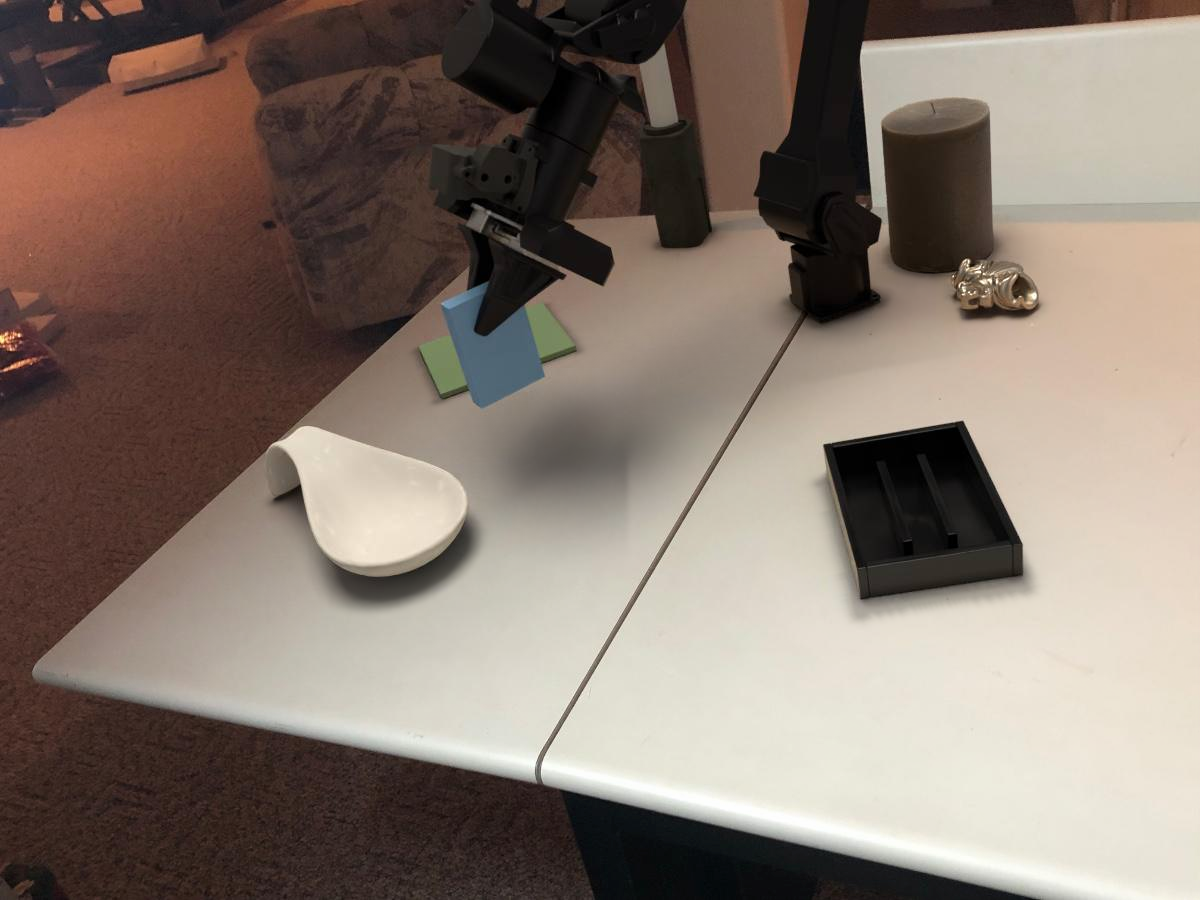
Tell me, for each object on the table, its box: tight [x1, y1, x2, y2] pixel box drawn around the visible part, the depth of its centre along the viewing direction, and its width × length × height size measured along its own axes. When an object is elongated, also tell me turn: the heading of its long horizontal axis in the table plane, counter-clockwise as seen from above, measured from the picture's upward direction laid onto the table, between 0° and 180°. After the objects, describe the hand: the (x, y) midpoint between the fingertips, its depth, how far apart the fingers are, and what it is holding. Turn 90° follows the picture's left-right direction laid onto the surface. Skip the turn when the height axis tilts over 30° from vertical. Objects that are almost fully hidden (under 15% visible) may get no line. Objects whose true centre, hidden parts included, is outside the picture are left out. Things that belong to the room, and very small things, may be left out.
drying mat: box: [418, 301, 577, 400], centre depth 110 cm, size 14×12×1 cm
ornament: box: [950, 259, 1040, 312], centre depth 95 cm, size 8×7×4 cm
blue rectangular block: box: [439, 281, 546, 410], centre depth 85 cm, size 6×2×9 cm, turn 122°
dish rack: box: [822, 420, 1024, 600], centre depth 73 cm, size 14×10×4 cm
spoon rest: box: [264, 425, 470, 578], centre depth 87 cm, size 24×12×7 cm, turn 46°
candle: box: [638, 43, 713, 248], centre depth 116 cm, size 5×5×25 cm
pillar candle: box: [880, 96, 994, 273], centre depth 103 cm, size 10×10×15 cm
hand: (473, 330), depth 84 cm, fingers closed on blue rectangular block, 2 cm apart
